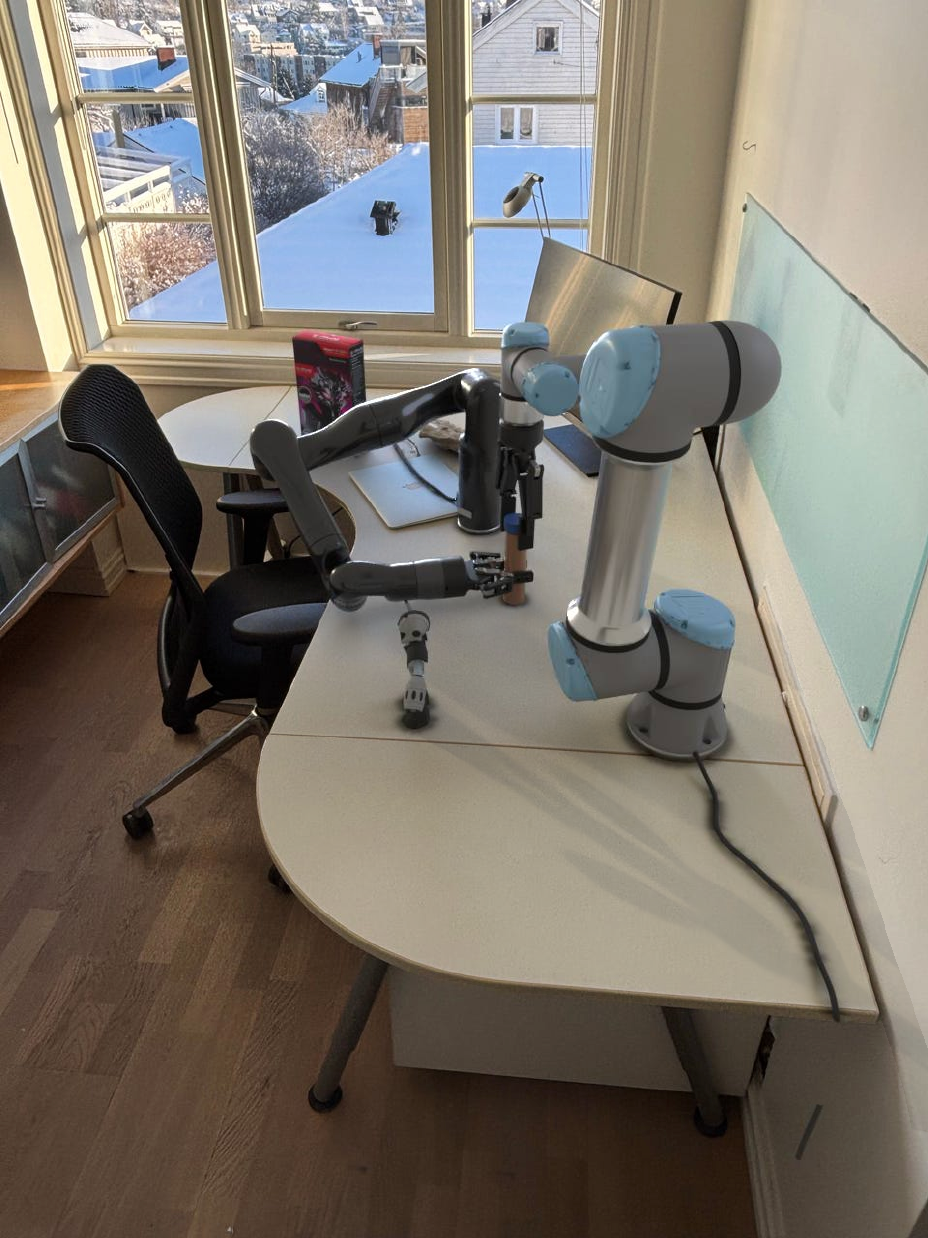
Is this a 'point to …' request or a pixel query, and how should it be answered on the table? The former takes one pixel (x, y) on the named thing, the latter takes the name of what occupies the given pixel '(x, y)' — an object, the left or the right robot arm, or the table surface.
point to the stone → (442, 434)
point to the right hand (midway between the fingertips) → (516, 538)
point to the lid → (512, 523)
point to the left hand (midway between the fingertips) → (529, 569)
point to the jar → (514, 568)
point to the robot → (415, 666)
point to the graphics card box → (327, 377)
